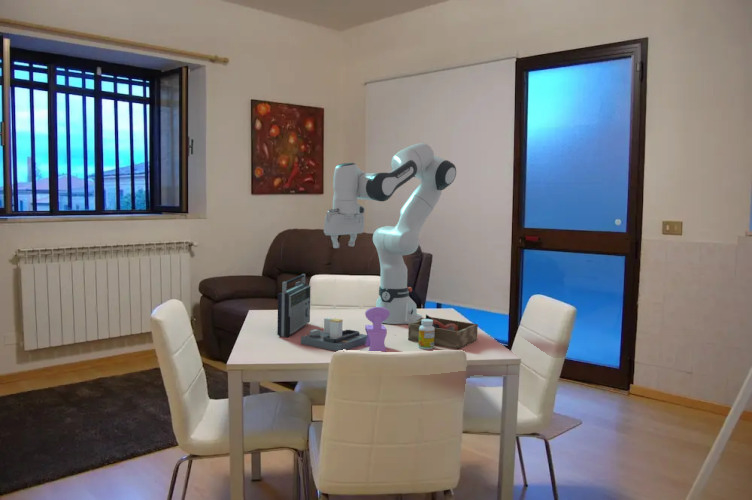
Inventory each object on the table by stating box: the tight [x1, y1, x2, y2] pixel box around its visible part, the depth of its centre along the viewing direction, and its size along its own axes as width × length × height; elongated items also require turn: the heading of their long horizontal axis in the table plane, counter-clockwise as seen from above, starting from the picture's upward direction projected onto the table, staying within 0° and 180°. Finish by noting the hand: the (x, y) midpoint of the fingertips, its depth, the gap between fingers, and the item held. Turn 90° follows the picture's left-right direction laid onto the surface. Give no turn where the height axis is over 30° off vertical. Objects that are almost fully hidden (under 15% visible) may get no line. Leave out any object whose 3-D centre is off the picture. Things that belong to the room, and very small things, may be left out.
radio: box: [276, 273, 311, 338], centre depth 229 cm, size 24×5×20 cm, turn 168°
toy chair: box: [364, 306, 390, 351], centre depth 205 cm, size 8×9×15 cm
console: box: [300, 317, 367, 352], centre depth 211 cm, size 17×17×8 cm
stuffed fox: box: [425, 313, 461, 331], centre depth 221 cm, size 8×11×12 cm
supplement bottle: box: [418, 318, 435, 350], centre depth 209 cm, size 5×5×10 cm
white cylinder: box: [330, 317, 344, 339], centre depth 206 cm, size 3×3×7 cm
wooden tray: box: [407, 316, 479, 350], centre depth 220 cm, size 16×20×6 cm
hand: (343, 247), depth 217 cm, fingers open, 8 cm apart
